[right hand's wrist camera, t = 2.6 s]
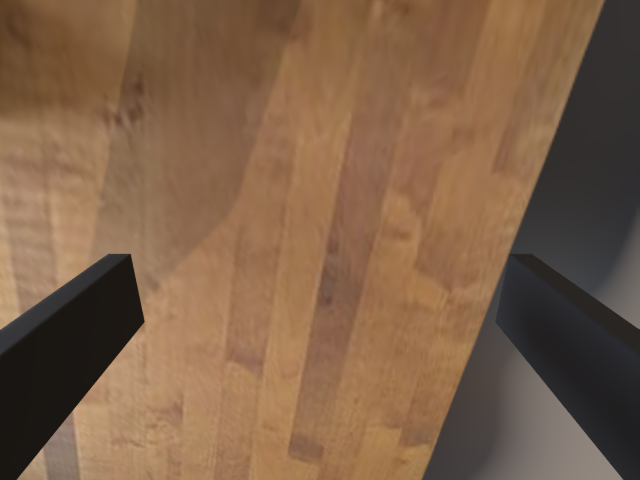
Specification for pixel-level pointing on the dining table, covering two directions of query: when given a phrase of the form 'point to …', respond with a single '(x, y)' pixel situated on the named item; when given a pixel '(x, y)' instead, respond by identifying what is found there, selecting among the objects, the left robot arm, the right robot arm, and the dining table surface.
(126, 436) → the dining table surface
